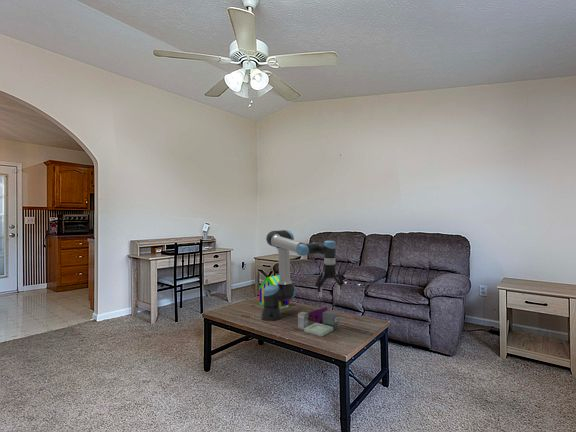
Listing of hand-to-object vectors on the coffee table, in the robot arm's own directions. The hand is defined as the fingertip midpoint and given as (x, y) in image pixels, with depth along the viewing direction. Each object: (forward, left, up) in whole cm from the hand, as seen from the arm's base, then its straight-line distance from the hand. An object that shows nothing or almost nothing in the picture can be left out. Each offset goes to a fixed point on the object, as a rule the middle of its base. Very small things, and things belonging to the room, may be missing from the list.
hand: (329, 295), depth 218 cm
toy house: (-69, +21, -23) cm, 75 cm away
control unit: (-2, +4, -22) cm, 23 cm away
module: (-16, -8, -22) cm, 29 cm away
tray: (-4, -7, -22) cm, 24 cm away
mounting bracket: (-20, +12, -23) cm, 33 cm away
